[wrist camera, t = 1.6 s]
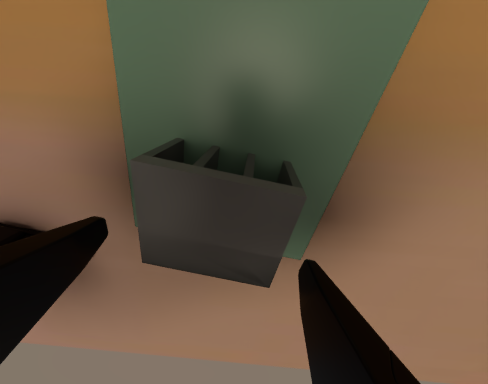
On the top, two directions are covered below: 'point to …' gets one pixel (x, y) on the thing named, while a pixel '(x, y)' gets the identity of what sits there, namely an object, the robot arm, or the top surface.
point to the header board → (258, 83)
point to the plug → (213, 215)
